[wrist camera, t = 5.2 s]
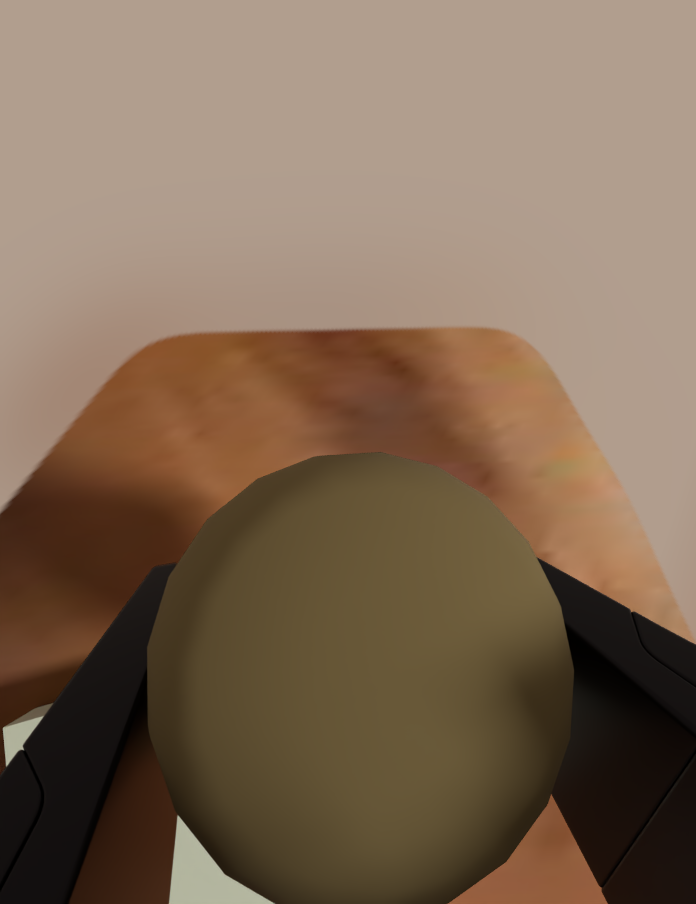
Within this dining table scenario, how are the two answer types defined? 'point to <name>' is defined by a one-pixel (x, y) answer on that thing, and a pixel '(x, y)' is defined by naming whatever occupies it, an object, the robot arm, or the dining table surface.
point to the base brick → (194, 871)
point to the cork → (359, 684)
